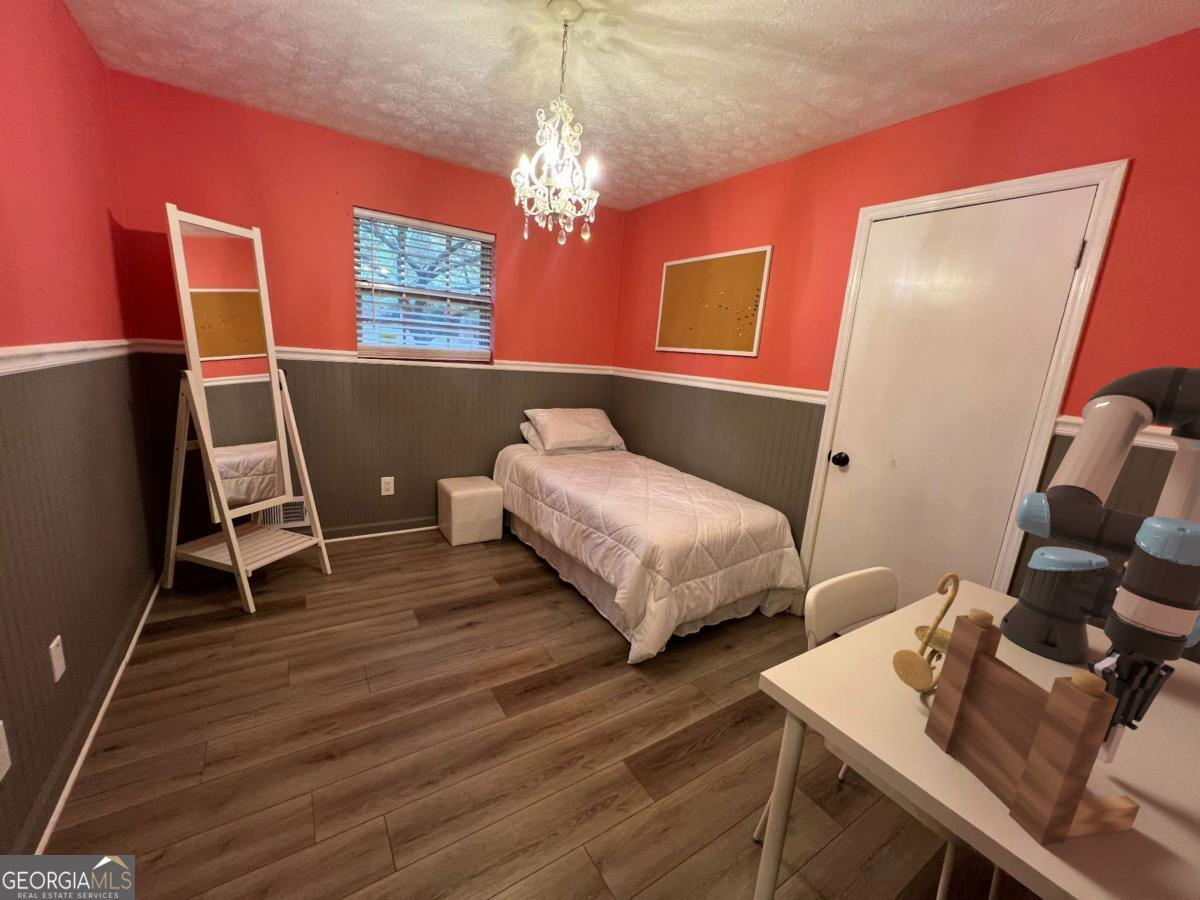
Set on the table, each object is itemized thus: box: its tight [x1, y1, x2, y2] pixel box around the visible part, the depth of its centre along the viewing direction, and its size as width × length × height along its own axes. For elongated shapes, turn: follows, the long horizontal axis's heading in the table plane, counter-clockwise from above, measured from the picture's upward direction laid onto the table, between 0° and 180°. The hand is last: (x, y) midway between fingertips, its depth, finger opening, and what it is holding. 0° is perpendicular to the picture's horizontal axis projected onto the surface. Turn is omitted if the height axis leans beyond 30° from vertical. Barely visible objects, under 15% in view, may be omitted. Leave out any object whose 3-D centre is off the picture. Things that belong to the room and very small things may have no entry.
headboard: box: [924, 608, 1141, 846], centre depth 67 cm, size 16×18×24 cm
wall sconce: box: [892, 572, 960, 694], centre depth 84 cm, size 14×10×25 cm
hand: (1097, 755), depth 72 cm, fingers closed
